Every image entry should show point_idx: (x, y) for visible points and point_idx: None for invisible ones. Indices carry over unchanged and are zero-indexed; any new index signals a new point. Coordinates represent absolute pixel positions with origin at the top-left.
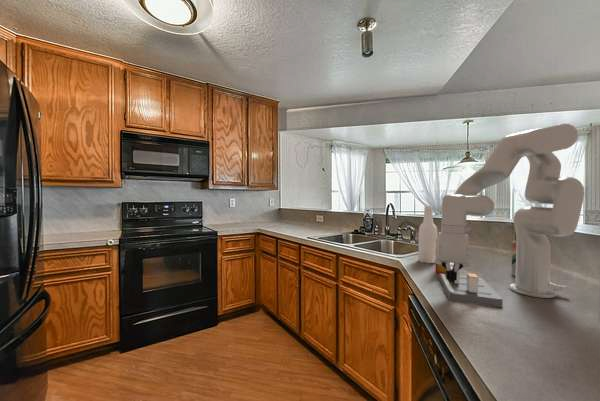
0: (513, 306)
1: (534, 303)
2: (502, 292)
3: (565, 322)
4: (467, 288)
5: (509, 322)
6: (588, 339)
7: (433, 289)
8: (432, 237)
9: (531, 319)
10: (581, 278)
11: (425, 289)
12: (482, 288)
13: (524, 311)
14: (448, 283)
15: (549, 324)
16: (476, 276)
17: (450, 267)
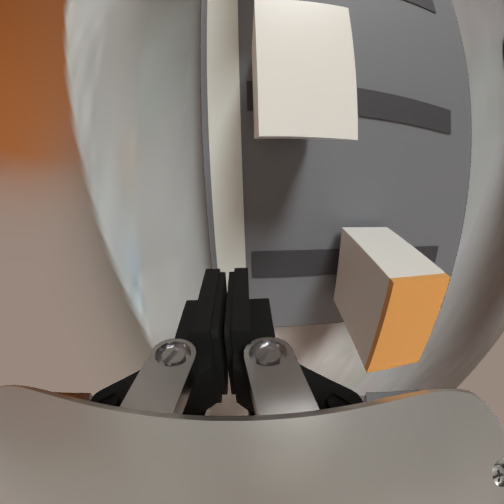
0: (461, 262)
1: None
2: (485, 97)
3: (493, 320)
4: (341, 256)
5: (371, 389)
6: (463, 377)
7: (144, 160)
8: None
9: (440, 345)
10: None
11: (104, 185)
12: (434, 167)
13: (463, 294)
14: (231, 134)
15: (456, 351)
16: (418, 348)
17: (257, 19)
